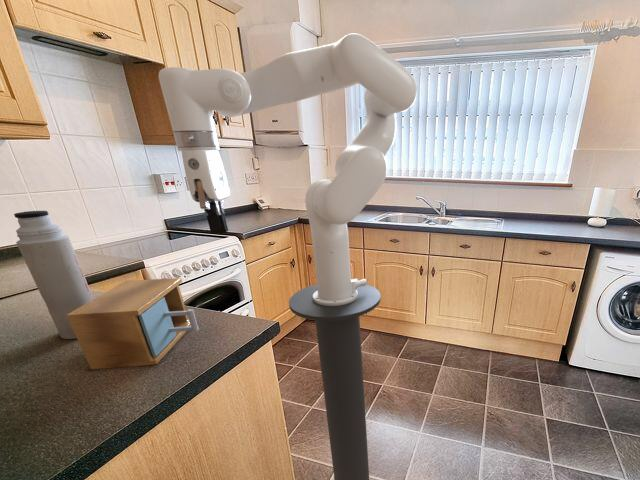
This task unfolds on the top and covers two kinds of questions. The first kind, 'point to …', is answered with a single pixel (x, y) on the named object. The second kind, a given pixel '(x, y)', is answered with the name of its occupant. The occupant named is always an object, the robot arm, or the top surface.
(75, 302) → the thermos bottle
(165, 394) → the top surface
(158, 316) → the blue door
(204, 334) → the top surface
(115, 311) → the cabinet
